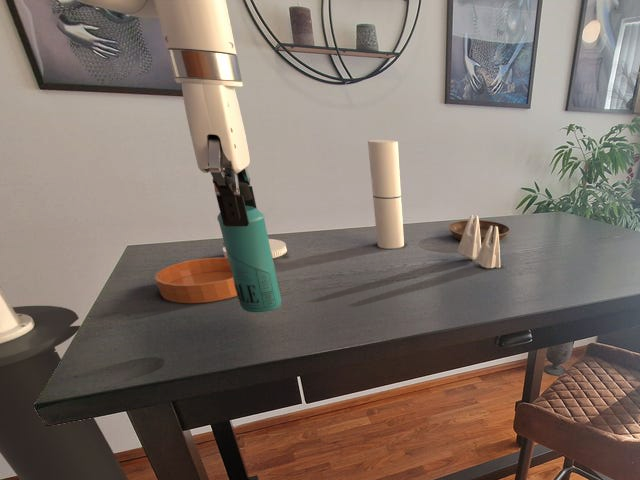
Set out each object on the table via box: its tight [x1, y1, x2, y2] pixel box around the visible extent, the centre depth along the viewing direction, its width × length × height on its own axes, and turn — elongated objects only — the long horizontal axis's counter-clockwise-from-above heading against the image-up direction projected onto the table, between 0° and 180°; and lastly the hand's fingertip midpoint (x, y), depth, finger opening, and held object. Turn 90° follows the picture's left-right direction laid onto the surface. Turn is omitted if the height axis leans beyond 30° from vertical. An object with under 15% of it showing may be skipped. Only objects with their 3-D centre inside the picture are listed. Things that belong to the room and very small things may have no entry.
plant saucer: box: [448, 219, 511, 245], centre depth 129 cm, size 18×18×3 cm
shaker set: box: [457, 214, 501, 269], centre depth 107 cm, size 12×4×11 cm, turn 44°
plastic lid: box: [221, 238, 288, 259], centre depth 108 cm, size 14×14×2 cm
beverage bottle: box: [217, 182, 283, 313], centre depth 68 cm, size 6×7×20 cm
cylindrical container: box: [367, 139, 405, 250], centre depth 114 cm, size 7×7×25 cm
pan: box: [154, 257, 238, 304], centre depth 90 cm, size 17×17×4 cm
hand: (241, 218), depth 65 cm, fingers closed on beverage bottle, 6 cm apart
